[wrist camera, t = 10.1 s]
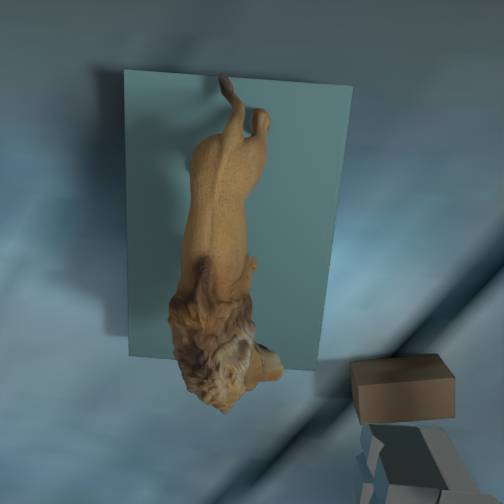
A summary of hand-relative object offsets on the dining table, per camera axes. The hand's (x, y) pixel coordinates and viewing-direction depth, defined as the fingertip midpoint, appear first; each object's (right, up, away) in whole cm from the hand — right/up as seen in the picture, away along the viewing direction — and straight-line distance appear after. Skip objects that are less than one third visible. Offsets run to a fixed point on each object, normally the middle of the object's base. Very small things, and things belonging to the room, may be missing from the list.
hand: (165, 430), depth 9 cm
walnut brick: (+12, -5, +21) cm, 24 cm away
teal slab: (+1, +5, +18) cm, 19 cm away
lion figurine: (+1, +5, +15) cm, 16 cm away
